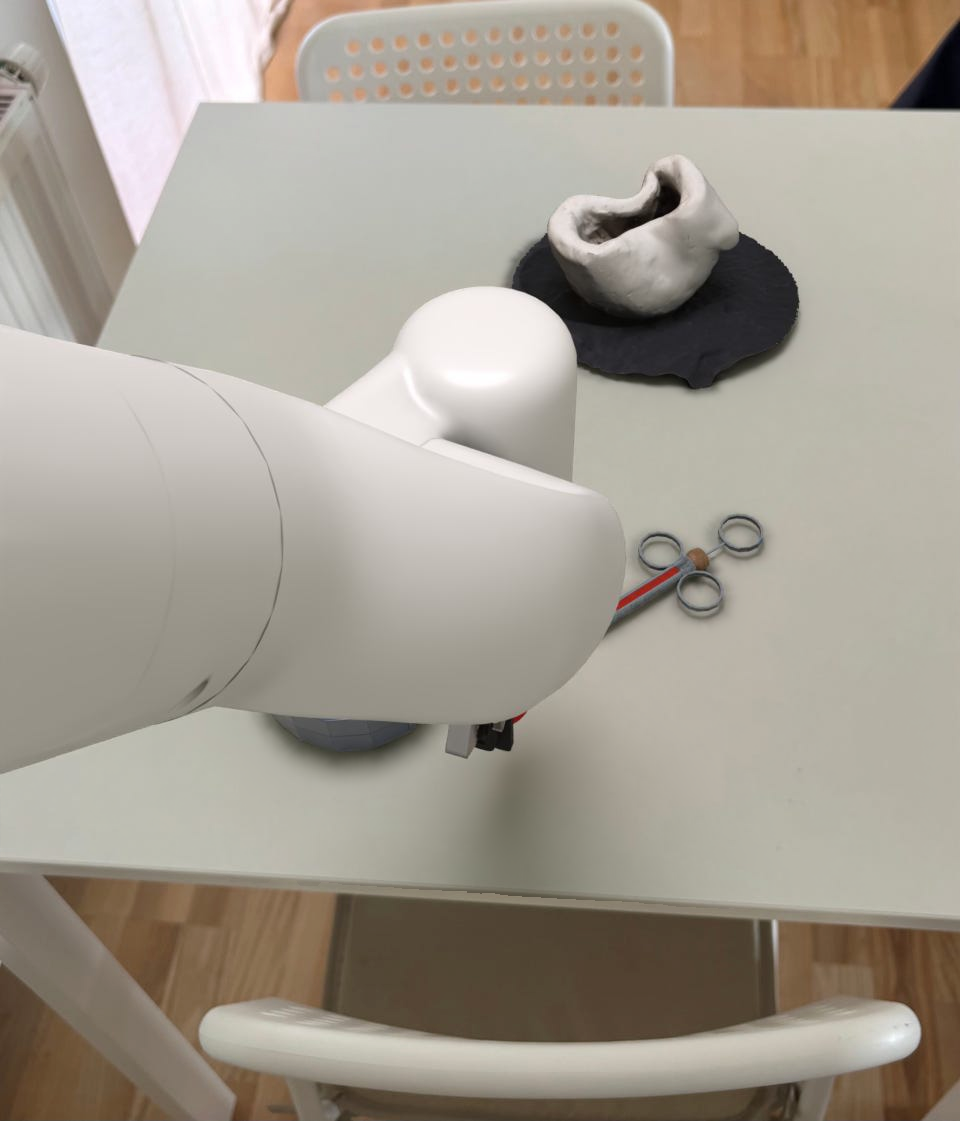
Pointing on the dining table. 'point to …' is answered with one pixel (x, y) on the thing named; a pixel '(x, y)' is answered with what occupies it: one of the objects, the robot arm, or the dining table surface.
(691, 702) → the dining table surface
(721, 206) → the sculpture
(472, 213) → the dining table surface
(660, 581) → the syringe
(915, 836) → the dining table surface
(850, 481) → the dining table surface
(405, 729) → the bowl
